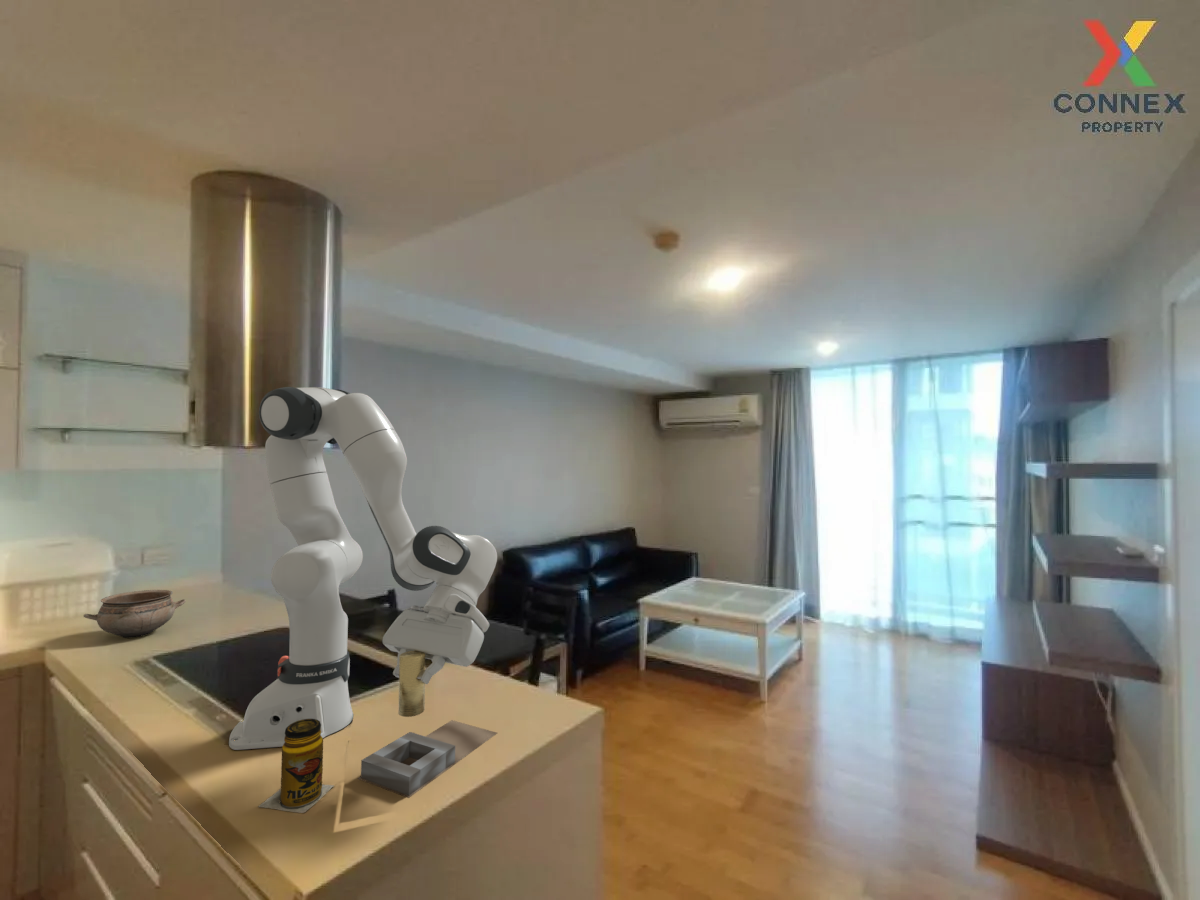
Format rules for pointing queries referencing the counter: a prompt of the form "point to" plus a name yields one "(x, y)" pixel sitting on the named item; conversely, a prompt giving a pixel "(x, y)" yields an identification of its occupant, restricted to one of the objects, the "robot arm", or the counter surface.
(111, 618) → the cooking pot
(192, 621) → the counter surface
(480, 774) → the counter surface
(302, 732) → the condiment
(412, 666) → the translucent yellow cylinder
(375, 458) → the robot arm
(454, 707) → the counter surface
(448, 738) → the jig
